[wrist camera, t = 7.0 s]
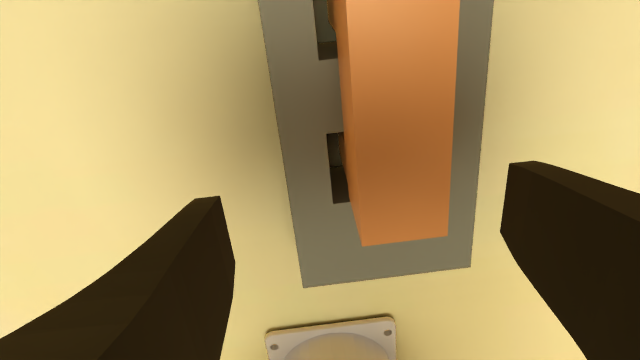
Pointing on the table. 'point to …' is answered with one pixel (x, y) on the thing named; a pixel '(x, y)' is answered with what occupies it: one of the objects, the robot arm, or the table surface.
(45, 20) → the table surface
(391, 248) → the socket rail
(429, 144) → the orange c-shaped bracket
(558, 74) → the table surface
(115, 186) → the table surface
